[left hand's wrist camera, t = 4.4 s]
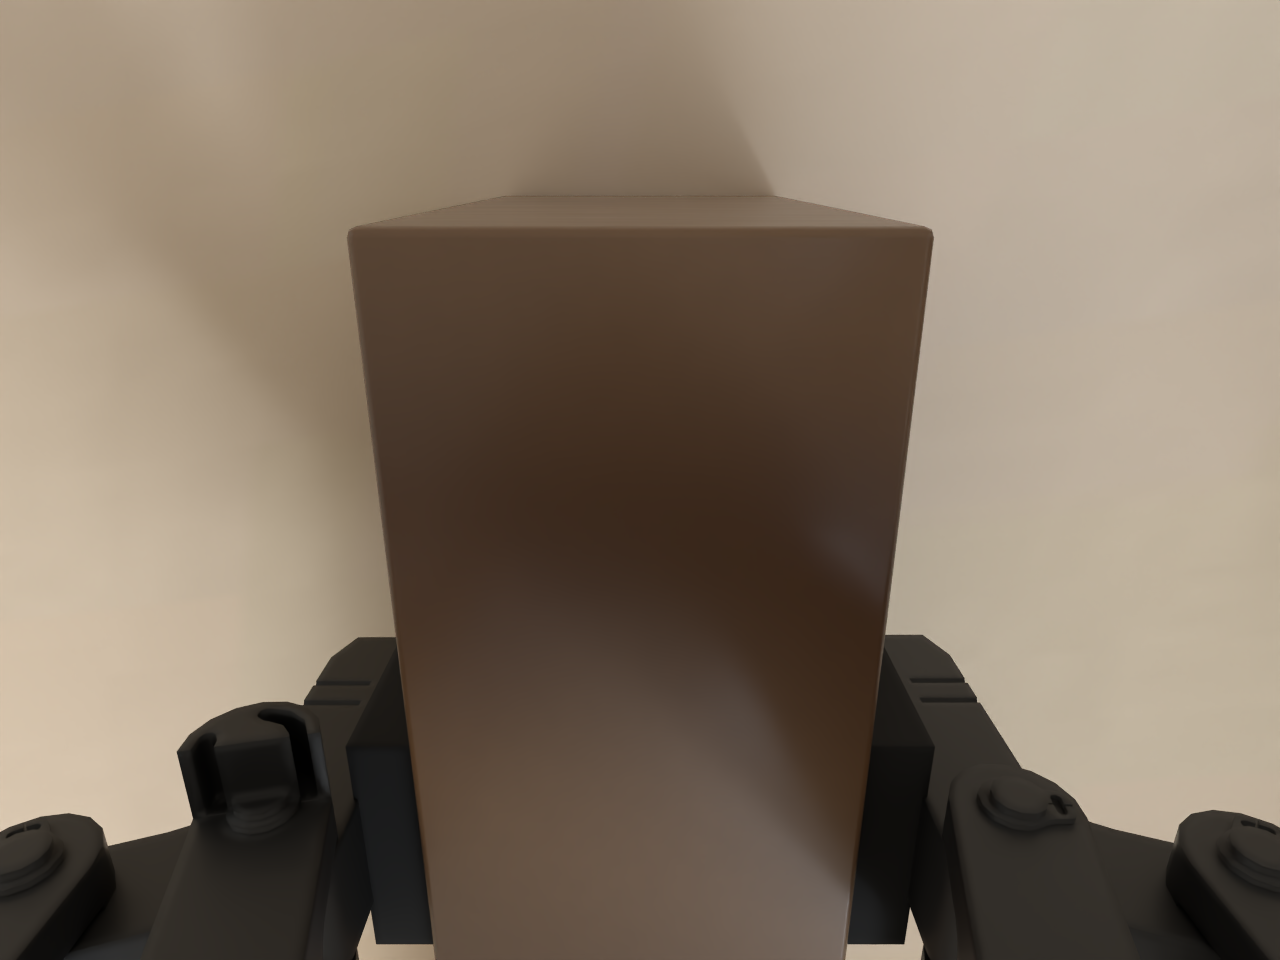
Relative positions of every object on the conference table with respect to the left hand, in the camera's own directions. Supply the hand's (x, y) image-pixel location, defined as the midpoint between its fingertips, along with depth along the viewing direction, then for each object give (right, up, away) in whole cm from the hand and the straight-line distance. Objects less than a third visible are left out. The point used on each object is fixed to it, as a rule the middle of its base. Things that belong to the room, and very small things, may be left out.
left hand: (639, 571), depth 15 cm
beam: (0, -26, +11) cm, 29 cm away
